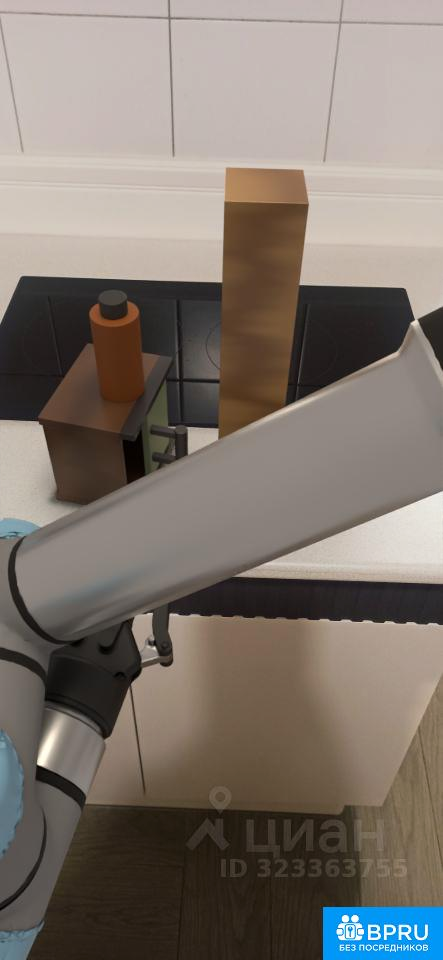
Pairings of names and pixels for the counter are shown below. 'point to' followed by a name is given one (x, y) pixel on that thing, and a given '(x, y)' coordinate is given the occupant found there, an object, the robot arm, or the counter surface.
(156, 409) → the sliding door
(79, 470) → the cabinet
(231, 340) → the stand
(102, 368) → the amber bottle
